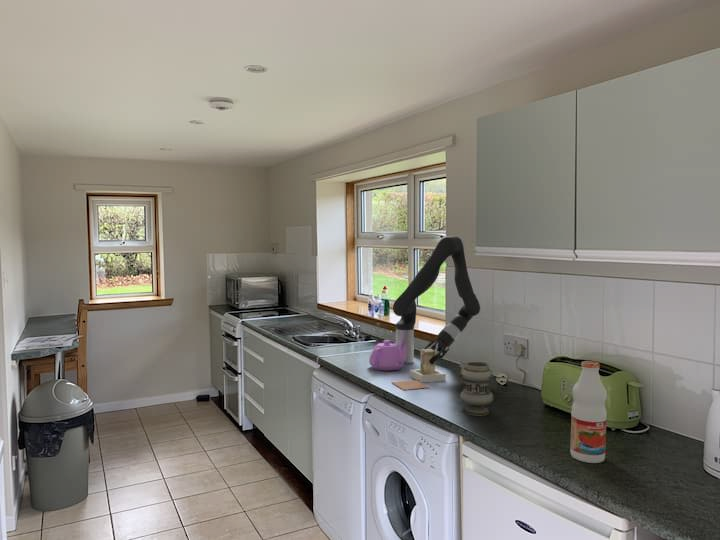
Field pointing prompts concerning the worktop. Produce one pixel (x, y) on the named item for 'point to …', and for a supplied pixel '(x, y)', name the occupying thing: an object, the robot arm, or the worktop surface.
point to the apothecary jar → (476, 388)
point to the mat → (410, 385)
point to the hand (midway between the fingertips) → (426, 361)
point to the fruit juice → (589, 416)
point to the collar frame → (428, 376)
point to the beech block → (427, 362)
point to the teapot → (388, 356)
